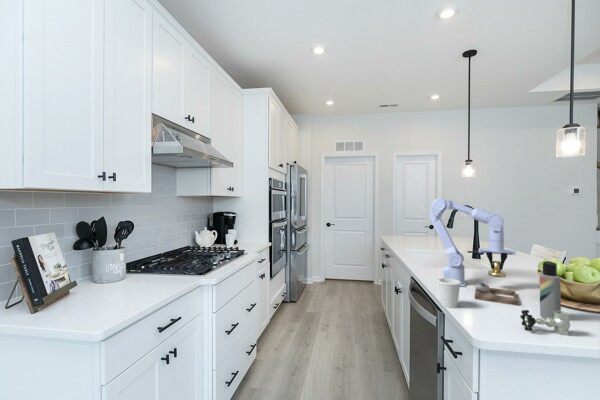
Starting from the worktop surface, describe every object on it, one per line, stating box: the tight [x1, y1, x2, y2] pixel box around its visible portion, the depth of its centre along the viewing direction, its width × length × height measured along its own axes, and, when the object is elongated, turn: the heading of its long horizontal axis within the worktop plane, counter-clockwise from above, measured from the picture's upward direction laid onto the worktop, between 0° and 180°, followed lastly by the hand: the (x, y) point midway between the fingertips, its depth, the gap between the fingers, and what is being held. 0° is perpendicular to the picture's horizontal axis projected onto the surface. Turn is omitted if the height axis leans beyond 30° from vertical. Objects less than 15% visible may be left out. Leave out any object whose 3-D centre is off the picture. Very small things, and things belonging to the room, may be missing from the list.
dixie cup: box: [437, 278, 461, 309], centre depth 118 cm, size 8×8×10 cm
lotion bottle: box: [539, 260, 562, 319], centre depth 105 cm, size 6×6×20 cm
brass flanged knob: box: [487, 260, 507, 278], centre depth 138 cm, size 7×7×6 cm
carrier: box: [474, 282, 519, 306], centre depth 128 cm, size 15×16×5 cm
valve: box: [519, 309, 571, 337], centre depth 94 cm, size 7×7×12 cm
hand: (496, 269), depth 138 cm, fingers closed on brass flanged knob, 3 cm apart
